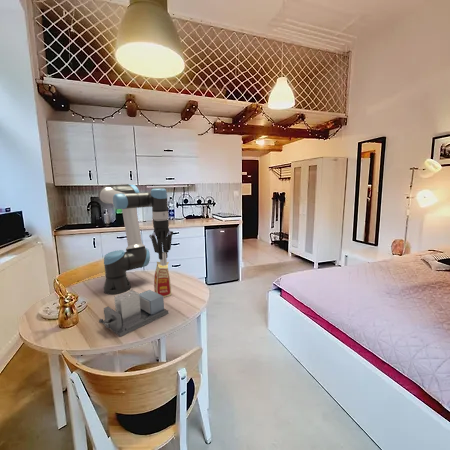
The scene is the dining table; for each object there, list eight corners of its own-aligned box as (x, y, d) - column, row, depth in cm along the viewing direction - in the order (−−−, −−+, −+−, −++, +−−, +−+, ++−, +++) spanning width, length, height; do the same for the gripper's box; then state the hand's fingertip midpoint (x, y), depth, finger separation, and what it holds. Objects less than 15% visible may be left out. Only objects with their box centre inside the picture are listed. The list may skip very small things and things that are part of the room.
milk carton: (157, 298, 144) (155, 264, 140) (153, 292, 152) (151, 260, 148) (173, 295, 148) (171, 261, 144) (169, 289, 156) (167, 257, 152)
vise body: (95, 327, 116) (93, 309, 115) (150, 303, 138) (149, 289, 136) (111, 340, 106) (109, 322, 104) (168, 313, 127) (167, 297, 126)
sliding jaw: (137, 307, 130) (136, 294, 128) (150, 302, 135) (149, 289, 134) (151, 315, 122) (150, 301, 121) (164, 309, 127) (163, 296, 126)
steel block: (116, 320, 119) (114, 296, 116) (134, 313, 125) (132, 290, 123) (122, 325, 115) (120, 300, 113) (141, 317, 121) (139, 293, 119)
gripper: (153, 222, 120) (156, 269, 124) (176, 218, 130) (178, 262, 134) (144, 220, 125) (147, 266, 129) (167, 217, 135) (170, 260, 139)
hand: (163, 264), depth 132 cm, fingers closed
